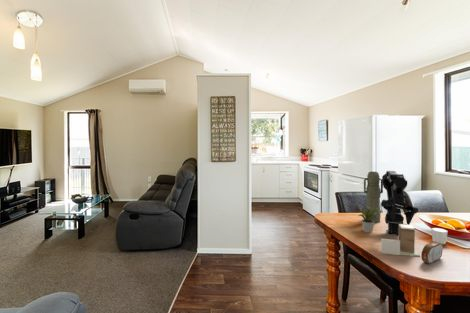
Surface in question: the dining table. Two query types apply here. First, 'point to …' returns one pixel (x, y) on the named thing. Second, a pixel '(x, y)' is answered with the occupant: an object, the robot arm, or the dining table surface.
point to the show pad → (410, 253)
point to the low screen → (390, 246)
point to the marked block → (406, 238)
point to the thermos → (373, 193)
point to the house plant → (368, 219)
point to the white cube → (439, 235)
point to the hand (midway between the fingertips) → (400, 222)
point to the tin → (432, 252)
